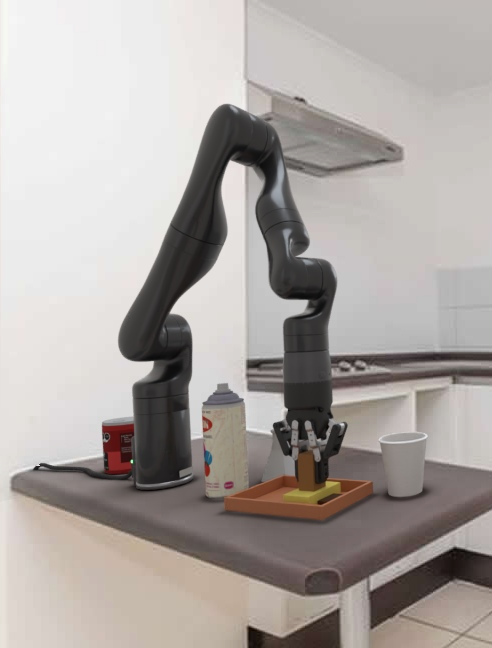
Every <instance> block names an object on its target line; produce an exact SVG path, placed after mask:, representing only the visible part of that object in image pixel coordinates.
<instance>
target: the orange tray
mask: <svg viewBox="0 0 492 648" xmlns="http://www.w3.org/2000/svg"><path fill="white" fill-rule="evenodd" d="M326 481H330V482H340V487H341V494H343V495H341V496H339V497H337V498H335V499H333V500H331V501H329V502H327V503H325V504H323V505H315V504H304V503H293V502H283V495H284V494H286V493H289V492H291V491H293V490H296V489H298V488H299V482H297V479H296V477H295V476H292V475H282V476H279V477H277V478H274V479H271V480H269V481H266V482H261V483H258V484H255V485H253V486H251V487H250V486H249V488H248V489H245V490H243V491H240V492H237V493H235V494H232V495H230V496H227V497H224V498H223V504H224V505H223V507H224V511H229V512H239V513H248V514H257V515H258V514H259V515H260V514H261V515H268V516H277V517H289V518H300V519H309V520H317V521H323V520H325V519H327V518H329V517H331V516H333V515H335V514H337V513H338V512H340V511H342V510H344V509H346V508H348V507H350V506H352V505H353V504H355V503H357V502H359V501H361V500H363V499H365V498H366V497H368V496H370V495H372V494H373V493H374V480H363V479H361V480H360V479H350V478H349V479H347V478H333V477H328V478H327V480H326Z"/></svg>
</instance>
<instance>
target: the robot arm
mask: <svg viewBox="0 0 492 648" xmlns="http://www.w3.org/2000/svg"><path fill="white" fill-rule="evenodd" d="M285 159H286V158H285V156H284V151H283V145H282V141H281V139H280V136H279V133H278V131H277V129H276V127H274V126H273V124H271V122H268V121H266V120H265V119H263V118H262V117H259V116H258V115H255V114H253V113H251V112H250V111H247V110H245V109H242V108H240V107H238V106H236V105H234V104H231V103H223V104H221V105H218V106H217V107H216V108H215V110H213V112H212V113H211V115H210V117H209V118H208V120H207V123H206V125H205V128H204V131H203V134H202V136H201V140H200V143H199V147H198V150H197V153H196V156H195V159H194V163H193V166H192V169H191V173H190V175H189V178H188V180H187V183H186V185H185V188H184V191H183V193H182V196H181V198H180V200H179V203H178V205H177V207H176V210H175V212H174V214H173V216H172V219H171V220H170V223H169V225H168V227H167V229H166V231H165V234H164V237H163V240H162V242H161V245H160V247H159V249H158V253H157V254H156V257H155V259H154V261H153V263H152V266H151V268H150V270H149V272H148V275H147V276H146V279H145V280H144V282H143V285H142V287H141V288H140V290H139V292H138V294H137V295H136V297H135V299H134V301H133V302H132V304H131V306H130V307H129V309H128V311H127V312H126V314H125V316H124V318H123V320H122V322H121V324H120V327H119V331H118V336H117V346H118V349H119V350H118V351H119V352H120V355H122V357H123V358H124V359H126V360H127V361H131V362H134V363H149V362H153V364H152V368H151V370H150V371H149V373H147V374H146V375H145V376H144V377H142V378H140V379H138V380H137V381H135V382H134V383H132V387H131V394H132V395H131V396H132V413H133V416H132V417H133V418H134V436H133V437H132V439H131V442H132V461H131V470H130V471H129V472H128V473H126V474H122V475H115V474H107V473H102V472H97V471H94V470H93V469H91V468H88V467H85V466H68V465H67V466H62V465H52V464H50V463H46V462H39V463H40V464H39V463H38V464H39V465H40V466H36V465H35V466H34V467H33V468H32V471H38V470H40V468H45V469H49V470H52V471H78V472H85V473H86V474H89V475H90V476H92V477H96V478H101V479H105V480H116V481H118V480H119V481H120V480H122V481H123V480H128V479H130V478H132V479H133V480H132V481H133V487H136V489H137V490H143V491H151V490H152V491H153V490H161V489H168V488H174V487H178V486H181V485H184V484H187V483H189V482H191V481H193V479H194V466H193V452H192V451H193V449H192V433H191V431H192V429H191V411H190V409H191V408H190V394H189V392H190V389H189V388H190V387H189V386H190V383H191V380H192V377H193V351H194V350H193V349H194V348H193V347H194V346H193V341H194V340H193V332H192V329H191V326H190V324H189V322H188V321H187V319H186V318H185V317H184V316H182V315H180V314H178V313H171V311H172V310H173V308H174V306H175V305H176V303H177V302H178V301H179V299H180V298H181V297H183V296H184V294H186V293H187V292H188V291H189V290H190V289H191V288H193V287H194V286H195V285H196V284H197V283H199V282H200V280H202V279H203V278H204V277H205V276H206V275H207V274H208V273H210V271H211V270H212V269H213V267H214V266H215V264H216V262H217V261H218V258H219V256H220V254H221V252H222V250H223V247H224V245H225V243H226V241H227V237H228V234H229V233H228V232H229V229H228V228H229V226H228V219H227V214H226V210H225V205H224V199H223V193H222V189H223V187H222V186H223V181H224V177H225V173H226V171H227V168H228V166H229V163H230V162H234V163H236V164H238V165H241V166H244V167H246V168H251V169H252V171H253V172H254V174H255V175H256V177H257V178H258V180H259V182H260V185H261V186H260V190H259V192H258V194H257V196H256V200H255V204H254V215H255V220H256V223H257V226H258V229H259V231H260V234H261V236H262V239H263V242H264V244H265V248H266V258H267V283H268V287H269V288H270V290H272V293H273V294H274V295H275V296H277V298H280V299H282V300H286V301H307V302H306V306H305V308H304V310H303V312H301V313H298V314H293V315H290V316H287V317H286V318H285V319H284V320H283V323H282V342H283V344H282V345H283V359H282V384H283V387H282V388H283V406H284V408H285V409H286V410H287V412H286V414H285V418H284V419H282V420H277V421H276V422H273V424H272V429H274V431H275V434H276V436H277V439H278V441H279V444H280V446H281V449H282V452H283V454H284V455H285V456H288V455H289V456H291V457H292V459H293V460H294V462H295V477H296V479H297V482H299V477H298V454H300V453H303V452H305V451H308V450H309V448H310V449H311V450H313V454H314V459H315V461H316V462H314V466H315V483H316V484H321V483H324V482H326V480H327V478H330V477H329V476H330V471H329V468H330V467H329V460H330V458H332V457H335V456H337V455H339V453H340V451H341V447H342V444H343V442H344V438H345V435H346V432H347V430H348V423H347V421H342V422H341V421H339V420H336V419H335V418H334V414H333V411H332V409H331V408H332V405H333V402H334V400H333V398H334V397H333V396H334V395H333V374H332V359H331V355H330V340H329V339H330V337H329V324H330V319H331V315H332V310H333V306H334V301H335V298H336V294H337V288H338V275H337V271H336V270H335V267H334V266H333V264H332V263H331V262H330V261H329V260H326V259H325V258H320V257H319V258H317V257H305V256H300V255H303V254H305V252H306V251H307V250H308V249H309V247H310V244H311V238H310V235H309V232H308V230H307V228H306V225H305V223H304V220H303V218H302V216H301V214H300V211H299V208H298V206H297V203H296V201H295V198H294V195H293V191H292V188H291V184H290V179H289V175H288V174H289V173H288V169H287V164H286V160H285ZM287 441H288V443H289V445H290V447H289V445H288V443H287ZM321 451H322V453H321Z"/></svg>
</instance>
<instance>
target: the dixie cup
mask: <svg viewBox="0 0 492 648" xmlns="http://www.w3.org/2000/svg"><path fill="white" fill-rule="evenodd" d="M428 437H429V435H428V434H427V433H425V432H421V431H402V432H401V431H400V432H392V433H387V434H384V435H382V436H380V437H379V438H378V442H379V445H380V451H381V458H382V463H383V467H384V468H383V469H384V475H385V481H386V487H387V493H388V495H389V496H391V497H395V498H404V497H412V496H416V495H418V494H420V493H422V492H423V487H424V486H423V485H424V474H425V461H426V451H427V449H426V448H427V439H428Z"/></svg>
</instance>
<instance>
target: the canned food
mask: <svg viewBox="0 0 492 648" xmlns="http://www.w3.org/2000/svg"><path fill="white" fill-rule="evenodd" d="M133 436H134V418H133V416H124V417H123V416H122V417H116V418H110V419H106V420H103V421H101V438H102V455H103V456H102V457H103V458H102V459H103V470H104V472H105V474H108V475H126V474H128V472H129V471H130V470H131V461H132V442H131V439H132V437H133Z"/></svg>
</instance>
